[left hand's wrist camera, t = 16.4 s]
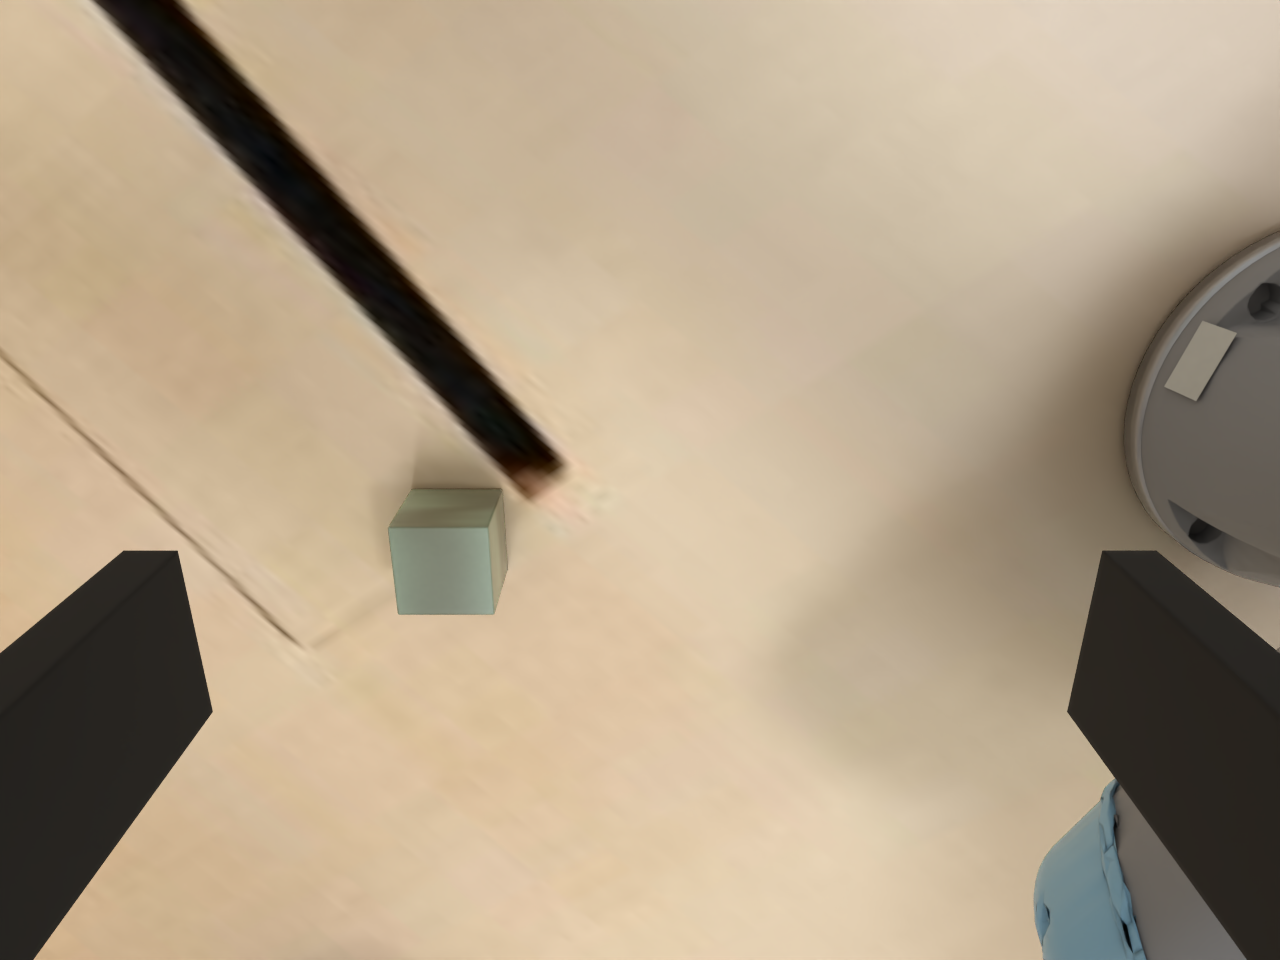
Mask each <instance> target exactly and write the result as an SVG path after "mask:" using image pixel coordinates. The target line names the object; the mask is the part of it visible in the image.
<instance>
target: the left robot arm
mask: <svg viewBox="0 0 1280 960" xmlns="http://www.w3.org/2000/svg"><path fill="white" fill-rule="evenodd" d="M1124 447H1125V457H1126V463H1127V468H1128V472H1129V475H1130V479H1131V482H1132V485H1133V487H1134V489H1135V492H1136V494H1137V496H1138V498H1139V500H1140V501H1141V503H1142V505H1143V507H1144V508H1145V510H1146V511H1147V512H1148V514H1149V515H1150V516H1151V518H1152V519H1153V520H1154V521H1155V522H1156V523H1157V524H1158V525H1159V526H1160V527H1161V528H1162V529H1163V530H1164V531H1165V532H1166V533H1167V534H1169V535H1170V536H1171V537H1172V538H1174V539H1175V540H1176V541H1177V542H1179V543H1180V544H1181V545H1183V546H1184V547H1185V548H1186V549H1188V550H1189V551H1190V552H1192V553H1193V554H1195V555H1197V556H1198V557H1200V558H1201V559H1203V560H1205V561H1207V562H1209V563H1211V564H1213V565H1215V566H1217V567H1219V568H1221V569H1223V570H1225V571H1228V572H1230V573H1232V574H1234V575H1237V576H1240V577H1243V578H1246V579H1250V580H1254V581H1258V582H1261V583H1265V584H1269V585H1273V586H1277V587H1280V231H1279V232H1277V233H1274V234H1272V235H1270V236H1267V237H1265V238H1264V239H1262V240H1260V241H1258V242H1256V243H1254V244H1252V245H1250V246H1249V247H1247V248H1245V249H1244V250H1242V251H1241V252H1239V253H1237V254H1236V255H1234V256H1233V257H1231V258H1230V259H1228V260H1227V261H1226V262H1224V263H1223V264H1222V265H1220V266H1219V267H1218V268H1216V269H1215V270H1214V271H1212V272H1211V273H1210V274H1209V275H1208V276H1207V277H1206V278H1204V279H1203V280H1202V281H1201V282H1200V283H1199V284H1198V285H1197V286H1196V287H1195V288H1194V289H1193V290H1192V291H1191V292H1190V293H1189V294H1188V295H1187V296H1186V297H1185V298H1184V299H1183V300H1182V301H1181V302H1180V303H1179V305H1178V306H1177V307H1176V308H1175V309H1174V311H1173V312H1172V313H1171V314H1170V316H1169V317H1168V318H1167V320H1166V321H1165V322H1164V324H1163V325H1162V327H1161V328H1160V330H1159V331H1158V332H1157V334H1156V336H1155V337H1154V339H1153V341H1152V343H1151V344H1150V346H1149V348H1148V349H1147V351H1146V353H1145V356H1144V358H1143V360H1142V362H1141V364H1140V366H1139V368H1138V371H1137V374H1136V377H1135V379H1134V382H1133V385H1132V388H1131V392H1130V396H1129V400H1128V404H1127V410H1126V416H1125V427H1124ZM212 712H213V711H212V706H211V702H210V697H209V692H208V688H207V683H206V679H205V674H204V669H203V665H202V660H201V656H200V651H199V647H198V642H197V637H196V633H195V628H194V624H193V619H192V614H191V610H190V605H189V601H188V596H187V591H186V587H185V582H184V578H183V573H182V568H181V564H180V559H179V555H178V551H123V552H122V553H120V554H119V555H118V556H117V557H116V558H114V559H113V560H112V561H111V562H110V563H108V564H107V565H106V566H105V567H104V568H102V569H101V570H100V571H99V572H98V573H96V574H95V575H94V576H93V577H91V578H90V579H89V580H88V581H87V582H85V583H84V584H83V585H82V586H81V587H79V588H78V589H77V590H76V591H75V592H73V593H72V594H71V595H70V596H69V597H67V598H66V599H65V600H64V601H63V602H61V603H60V604H59V605H58V606H57V607H55V608H54V609H53V610H52V611H51V612H49V613H48V614H47V615H46V616H45V617H43V618H42V619H41V620H40V621H39V622H37V623H36V624H35V625H34V626H33V627H31V628H30V629H29V630H28V631H27V632H25V633H24V634H23V635H22V636H21V637H19V638H18V639H17V640H16V641H14V642H13V643H12V644H11V645H10V646H8V647H7V648H6V649H5V650H4V651H2V652H1V653H0V960H33V959H34V958H35V957H36V955H37V954H38V952H39V951H40V950H41V948H42V947H43V946H44V944H45V943H46V941H47V940H48V939H49V937H50V936H51V934H52V933H53V932H54V930H55V929H56V928H57V926H58V925H59V923H60V922H61V921H62V919H63V918H64V917H65V915H66V914H67V912H68V911H69V910H70V908H71V907H72V905H73V904H74V903H75V901H76V900H77V899H78V897H79V896H80V894H81V893H82V892H83V890H84V889H85V888H86V886H87V885H88V883H89V882H90V881H91V879H92V878H93V876H94V875H95V874H96V872H97V871H98V870H99V868H100V867H101V865H102V864H103V863H104V861H105V860H106V859H107V857H108V856H109V854H110V853H111V852H112V850H113V849H114V847H115V846H116V845H117V843H118V842H119V841H120V839H121V838H122V836H123V835H124V834H125V832H126V831H127V830H128V828H129V827H130V825H131V824H132V823H133V821H134V820H135V818H136V817H137V816H138V814H139V813H140V812H141V810H142V809H143V807H144V806H145V805H146V803H147V802H148V801H149V799H150V798H151V796H152V795H153V794H154V792H155V791H156V789H157V788H158V787H159V785H160V784H161V783H162V781H163V780H164V778H165V777H166V776H167V774H168V773H169V772H170V770H171V769H172V767H173V766H174V765H175V763H176V762H177V760H178V759H179V758H180V756H181V755H182V754H183V752H184V751H185V749H186V748H187V747H188V745H189V744H190V742H191V741H192V740H193V738H194V737H195V736H196V734H197V733H198V731H199V730H200V729H201V727H202V726H203V725H204V723H205V722H206V720H207V719H208V718H209V716H210V715H211V713H212ZM1067 712H1068V713H1069V715H1070V716H1071V718H1072V719H1073V720H1074V722H1075V723H1076V725H1077V726H1078V727H1079V729H1080V730H1081V731H1082V733H1083V734H1084V736H1085V737H1086V738H1087V740H1088V741H1089V742H1090V744H1091V745H1092V747H1093V748H1094V749H1095V751H1096V752H1097V754H1098V755H1099V756H1100V758H1101V759H1102V760H1103V762H1104V763H1105V765H1106V766H1107V767H1108V769H1109V770H1110V772H1111V773H1112V774H1113V776H1114V777H1115V779H1114V780H1112V781H1111V782H1110V783H1109V784H1108V785H1107V786H1106V787H1105V788H1104V791H1103V793H1102V796H1101V800H1100V801H1099V802H1098V803H1097V804H1096V805H1095V806H1094V807H1093V808H1092V809H1091V810H1090V811H1089V812H1088V813H1087V814H1086V815H1085V816H1084V817H1083V818H1082V819H1081V820H1080V821H1079V822H1078V823H1077V824H1076V825H1075V826H1074V827H1073V828H1072V829H1070V830H1069V831H1068V832H1067V833H1066V834H1065V835H1064V836H1063V837H1062V838H1061V839H1060V840H1059V841H1058V842H1057V843H1056V844H1055V845H1054V846H1053V847H1052V848H1051V850H1050V851H1049V852H1048V854H1047V855H1046V856H1045V858H1044V860H1043V861H1042V863H1041V866H1040V868H1039V870H1038V874H1037V878H1036V882H1035V889H1034V914H1035V924H1036V929H1037V932H1038V936H1039V939H1040V943H1041V946H1042V952H1043V960H1280V648H1278V649H1277V650H1275V649H1274V648H1273V647H1272V646H1270V645H1269V644H1268V643H1267V642H1266V641H1264V640H1263V639H1262V638H1261V637H1259V636H1258V635H1257V634H1256V633H1255V632H1253V631H1252V630H1251V629H1250V628H1249V627H1247V626H1246V625H1245V624H1244V623H1243V622H1241V621H1240V620H1239V619H1238V618H1237V617H1235V616H1234V615H1233V614H1232V613H1231V612H1229V611H1228V610H1227V609H1226V608H1225V607H1223V606H1222V605H1221V604H1220V603H1219V602H1217V601H1216V600H1215V599H1214V598H1213V597H1211V596H1210V595H1209V594H1208V593H1207V592H1205V591H1204V590H1203V589H1202V588H1201V587H1199V586H1198V585H1197V584H1196V583H1195V582H1193V581H1192V580H1191V579H1190V578H1189V577H1187V576H1186V575H1185V574H1184V573H1182V572H1181V571H1180V570H1179V569H1178V568H1176V567H1175V566H1174V565H1173V564H1172V563H1170V562H1169V561H1168V560H1167V559H1166V558H1164V557H1163V556H1162V555H1161V554H1160V553H1158V552H1157V551H1102V555H1101V559H1100V564H1099V568H1098V573H1097V578H1096V582H1095V587H1094V591H1093V596H1092V601H1091V605H1090V610H1089V614H1088V619H1087V624H1086V628H1085V633H1084V637H1083V642H1082V647H1081V651H1080V656H1079V660H1078V665H1077V669H1076V674H1075V679H1074V683H1073V688H1072V692H1071V697H1070V702H1069V706H1068V711H1067Z"/></svg>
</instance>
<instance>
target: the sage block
mask: <svg viewBox="0 0 1280 960" xmlns="http://www.w3.org/2000/svg"><path fill="white" fill-rule="evenodd" d="M388 533H389V542H390V550H391V559H392V567H393V576H394V584H395V593H396V601H397V610H398V614H399V615H493V614H494V613H495V610H496V607H497V604H498V600H499V597H500V593H501V590H502V587H503V583H504V580H505V576H506V573H507V570H508V567H507V551H506V535H505V519H504V503H503V490H502V489H412V490H411V491H410V493H409V495H408V496H407V498H406V499H405V501H404V503H403V504H402V506H401V507H400V509H399V511H398V512H397V514H396V515H395V517H394V519H393V520H392V522H391V523H390V525H389V527H388Z"/></svg>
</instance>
